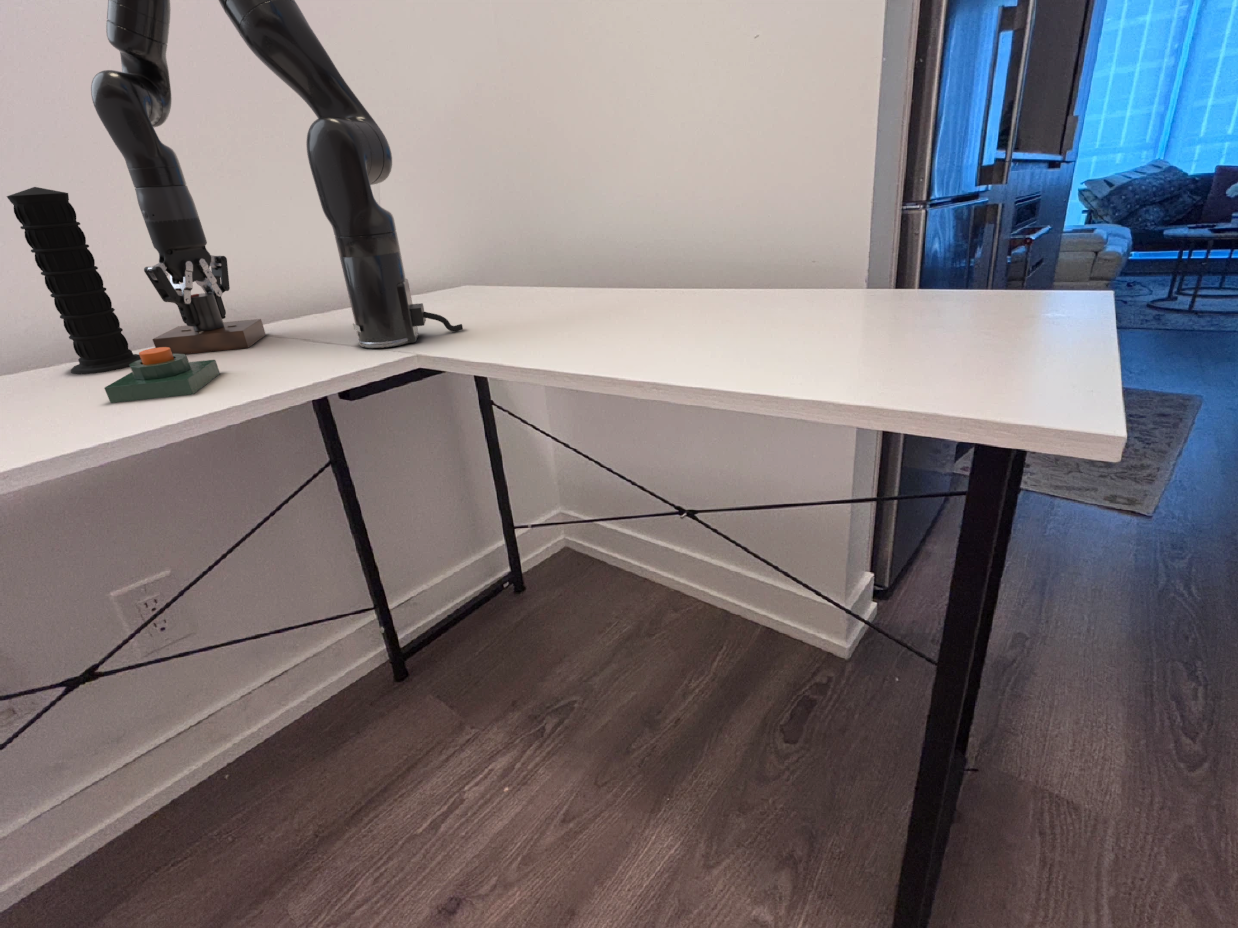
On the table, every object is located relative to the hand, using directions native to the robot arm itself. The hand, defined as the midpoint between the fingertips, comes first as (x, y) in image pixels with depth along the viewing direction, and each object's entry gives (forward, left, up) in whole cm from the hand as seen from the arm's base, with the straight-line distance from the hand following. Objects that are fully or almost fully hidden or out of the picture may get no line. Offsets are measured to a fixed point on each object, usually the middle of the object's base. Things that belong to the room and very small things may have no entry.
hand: (207, 321), depth 108 cm
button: (-3, +26, -1) cm, 26 cm away
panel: (0, 0, -4) cm, 4 cm away
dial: (0, 0, -1) cm, 1 cm away
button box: (-3, +26, -4) cm, 27 cm away
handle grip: (+13, +8, -4) cm, 16 cm away
